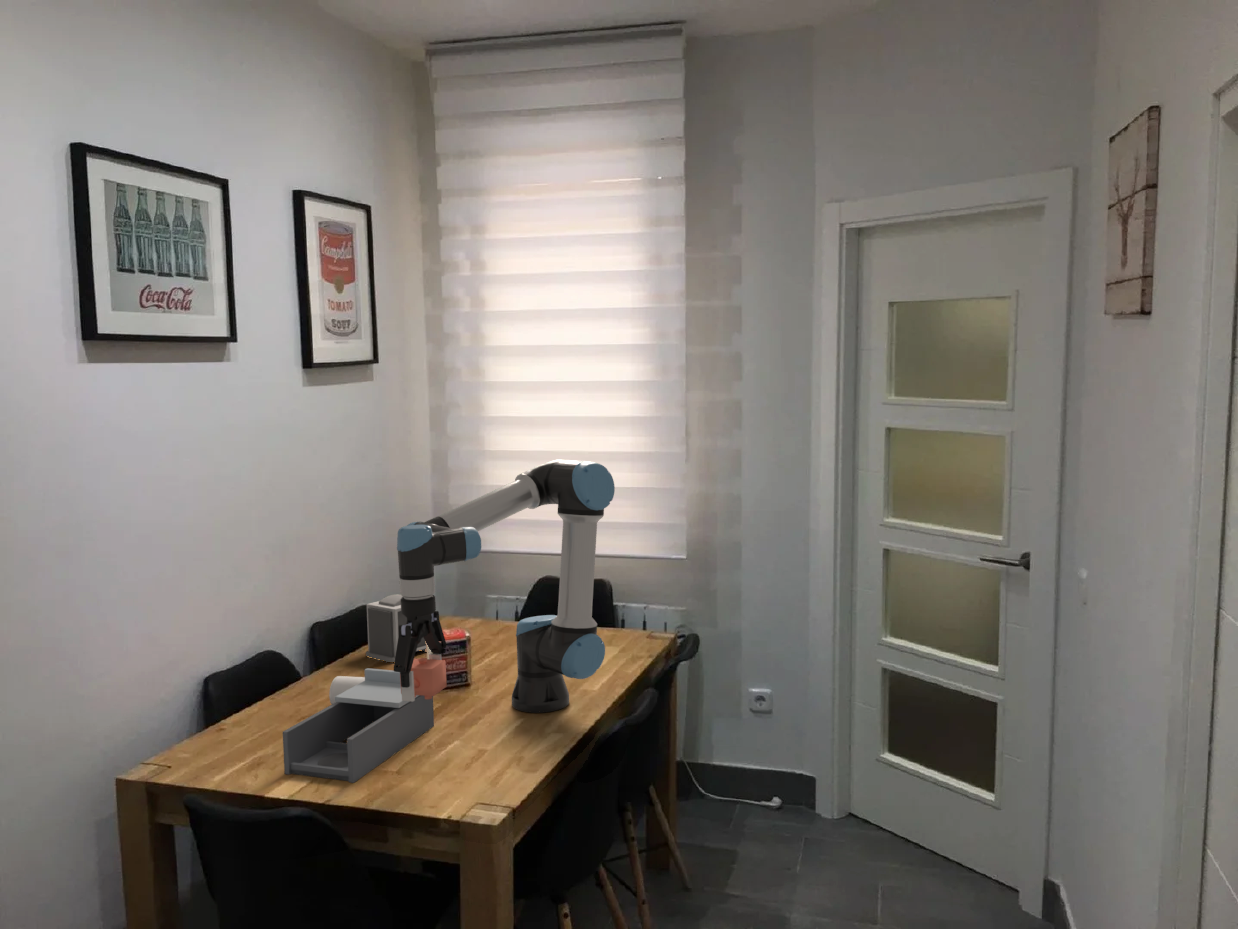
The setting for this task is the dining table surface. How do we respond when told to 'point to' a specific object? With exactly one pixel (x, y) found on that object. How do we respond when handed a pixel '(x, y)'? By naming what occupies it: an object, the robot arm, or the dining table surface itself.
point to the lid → (376, 690)
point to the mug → (343, 685)
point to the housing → (353, 738)
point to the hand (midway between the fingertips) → (422, 691)
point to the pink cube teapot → (428, 676)
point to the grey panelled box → (386, 628)
